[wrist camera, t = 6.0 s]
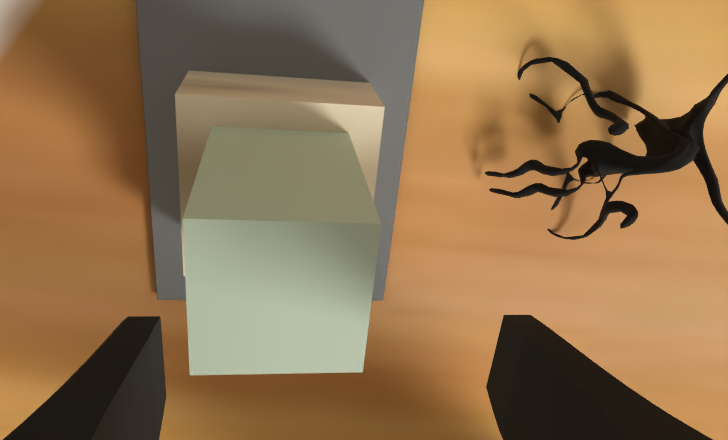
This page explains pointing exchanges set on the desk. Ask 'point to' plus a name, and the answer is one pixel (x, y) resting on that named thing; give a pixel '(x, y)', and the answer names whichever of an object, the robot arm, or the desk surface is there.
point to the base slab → (273, 115)
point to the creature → (664, 152)
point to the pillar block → (279, 254)
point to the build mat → (271, 58)
